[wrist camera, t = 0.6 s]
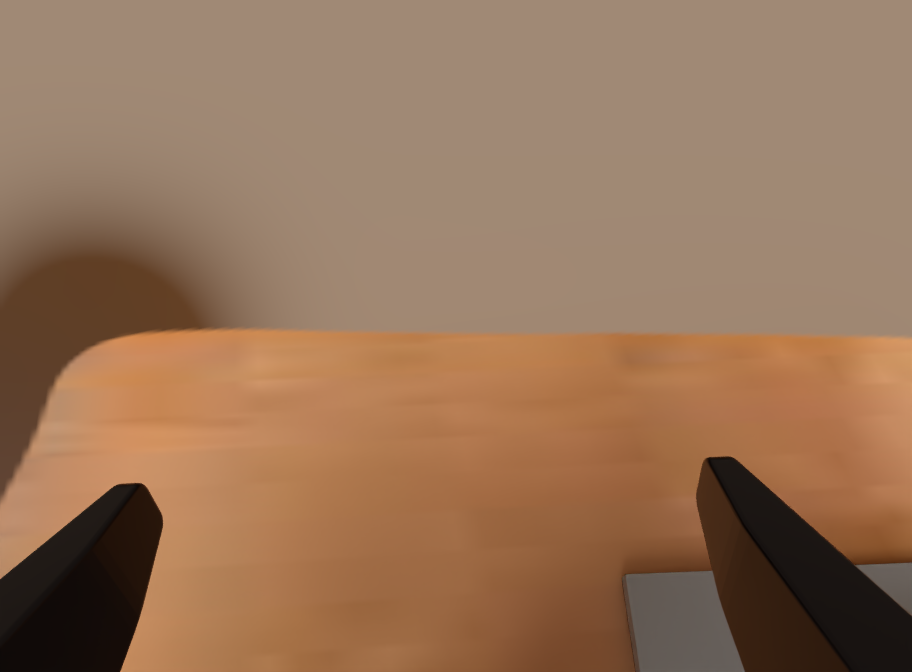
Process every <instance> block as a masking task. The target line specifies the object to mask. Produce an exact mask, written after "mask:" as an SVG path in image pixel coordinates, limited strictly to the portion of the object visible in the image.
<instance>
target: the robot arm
mask: <svg viewBox="0 0 912 672" xmlns="http://www.w3.org/2000/svg"><path fill="white" fill-rule="evenodd" d="M696 500H697V507H698V512H699V516H700V520H701V524H702V529H703V533H704V537H705V541H706V546H707V550H708V554H709V558H710V563H711V567H712V571H713V575H714V580H715V584H716V588H717V592H718V596H719V600H720V603H721V606H722V609H723V612H724V615H725V618H726V620H727V623H728V626H729V629H730V632H731V634H732V637H733V640H734V643H735V645H736V648H737V651H738V654H739V657H740V659H741V662H742V665H743V668H744V671H745V672H912V615H911V614H909V613H908V612H907V611H906V610H905V609H904V608H903V607H902V606H900V605H899V604H898V603H897V602H896V601H895V600H894V599H893V598H891V597H890V596H889V595H888V594H887V593H886V592H885V591H884V590H882V589H881V588H880V587H879V586H878V585H877V584H876V583H875V582H873V581H872V580H871V579H870V578H869V577H868V576H867V575H866V574H864V573H863V572H862V571H861V570H860V569H859V568H858V567H857V566H855V565H854V564H853V563H852V562H851V561H850V560H849V559H848V558H846V557H845V556H844V555H843V554H842V553H841V552H840V551H839V550H837V549H836V548H835V547H834V546H833V545H832V544H831V543H830V542H828V541H827V540H826V539H825V538H824V537H823V536H822V535H821V534H819V533H818V532H817V531H816V530H815V529H814V528H813V527H812V526H810V525H809V524H808V523H807V522H806V521H805V520H804V519H803V518H801V517H800V516H799V515H798V514H797V513H796V512H795V511H794V510H792V509H791V508H790V507H789V506H788V505H787V504H786V503H785V502H783V501H782V500H781V499H780V498H779V497H778V496H777V495H776V494H774V493H773V492H772V491H771V490H770V489H769V488H768V487H766V486H765V485H764V484H763V483H762V482H761V481H760V480H759V479H757V478H756V477H755V476H754V475H753V474H752V473H751V472H750V471H748V470H747V469H746V468H745V467H744V466H743V465H742V464H741V463H739V462H738V461H737V460H736V459H734V458H732V457H708V458H706V459H705V460H704V461H703V464H702V468H701V473H700V478H699V483H698V487H697V493H696ZM162 528H163V518H162V514H161V512H160V510H159V508H158V506H157V505H156V503H155V501H154V499H153V497H152V496H151V494H150V492H149V490H148V489H147V487H146V486H145V485H143V484H142V483H127V484H118V485H116V486H114V487H113V488H111V489H110V490H109V491H107V492H106V493H105V494H104V495H103V496H101V497H100V498H99V499H98V500H96V501H95V502H94V503H93V504H92V505H90V506H89V507H88V508H87V509H85V510H84V511H83V512H82V513H81V514H79V515H78V516H77V517H76V518H74V519H73V520H72V521H71V522H70V523H68V524H67V525H66V526H65V527H63V528H62V529H61V530H60V531H59V532H57V533H56V534H55V535H54V536H52V537H51V538H50V539H49V540H48V541H46V542H45V543H44V544H43V545H41V546H40V547H39V548H38V549H37V550H35V551H34V552H33V553H32V554H30V555H29V556H28V557H27V558H26V559H24V560H23V561H22V562H21V563H19V564H18V565H17V566H16V567H15V568H13V569H12V570H11V571H10V572H8V573H7V574H6V575H5V576H3V577H2V578H1V579H0V672H120V671H121V668H122V665H123V663H124V660H125V657H126V655H127V652H128V649H129V646H130V644H131V641H132V638H133V635H134V633H135V630H136V627H137V624H138V621H139V618H140V614H141V611H142V607H143V604H144V600H145V596H146V592H147V588H148V584H149V580H150V576H151V572H152V568H153V564H154V560H155V556H156V552H157V548H158V545H159V541H160V537H161V533H162Z"/></svg>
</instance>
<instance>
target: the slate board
mask: <svg viewBox="0 0 912 672" xmlns="http://www.w3.org/2000/svg"><path fill="white" fill-rule="evenodd" d="M855 566H857V567H858V568H859V569H860V570H861V571H862V572H863V573H864V574H866V575H867V576H868V577H869V578H870V579H871V580H872V581H873V582H875V583H876V584H877V585H878V586H879V587H880V588H881V589H882V590H884V591H885V592H886V593H887V594H888V595H889V596H890V597H891V598H893V599H894V600H895V601H896V602H897V603H898V604H899V605H900V606H902V607H903V608H904V609H905V610H906V611H907V612H908V613H909V614H911V615H912V563H893V564H868V565H855ZM622 583H623V590H624V596H625V603H626V610H627V616H628V623H629V629H630V636H631V643H632V649H633V656H634V663H635V669H636V672H745V671H744V668H743V665H742V662H741V659H740V657H739V654H738V651H737V648H736V645H735V643H734V640H733V637H732V634H731V632H730V629H729V626H728V623H727V620H726V618H725V615H724V612H723V609H722V606H721V603H720V600H719V596H718V592H717V588H716V584H715V580H714V575H713V571H695V572H670V573H645V574H625V575H624V576H623V577H622Z"/></svg>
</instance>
